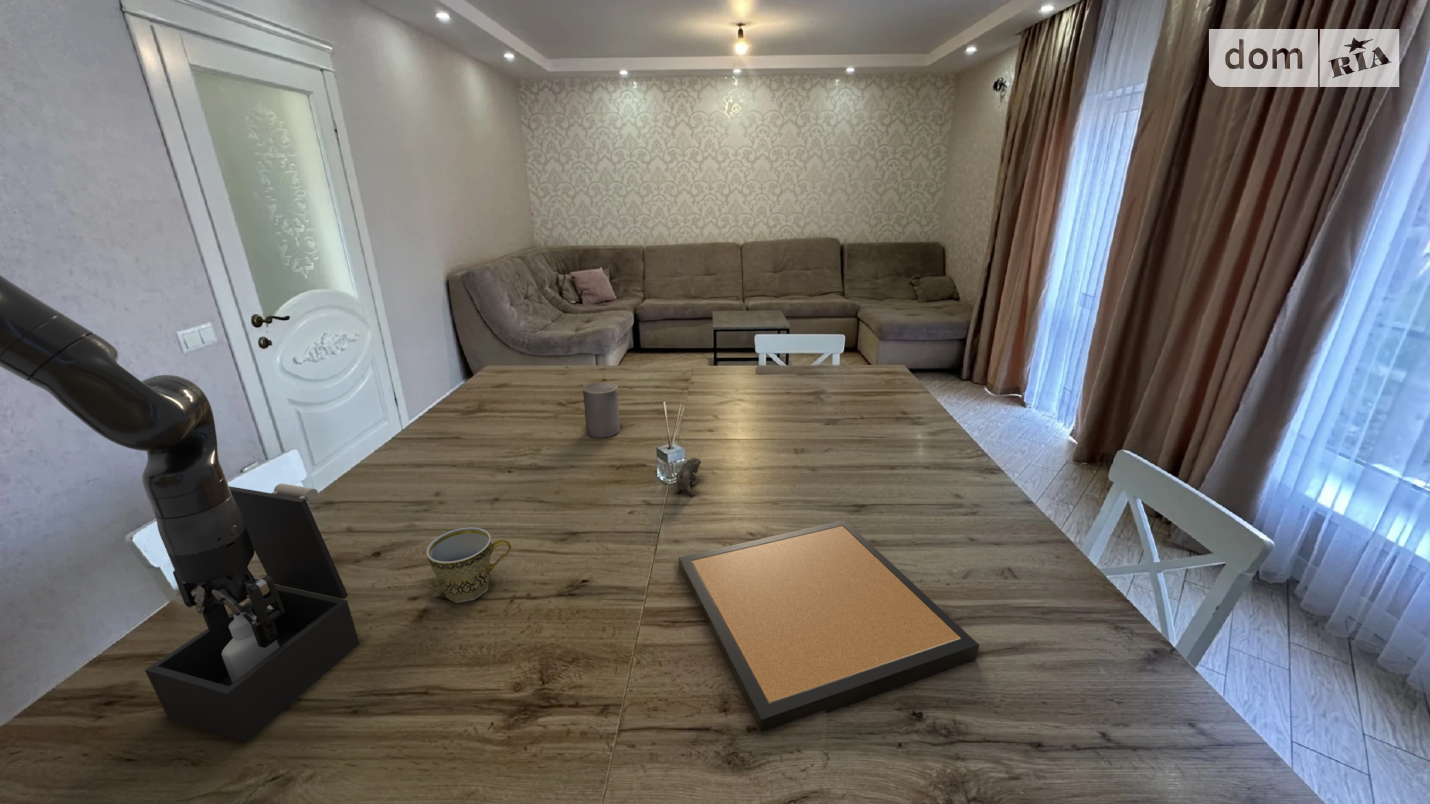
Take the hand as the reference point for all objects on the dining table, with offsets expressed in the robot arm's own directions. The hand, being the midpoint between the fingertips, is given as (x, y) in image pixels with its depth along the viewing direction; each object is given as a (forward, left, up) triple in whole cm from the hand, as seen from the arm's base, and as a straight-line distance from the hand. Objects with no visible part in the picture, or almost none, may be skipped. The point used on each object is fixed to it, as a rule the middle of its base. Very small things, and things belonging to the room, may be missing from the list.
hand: (245, 636), depth 74 cm
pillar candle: (+94, -7, -9) cm, 95 cm away
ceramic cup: (+25, -16, -9) cm, 31 cm away
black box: (+1, 0, -9) cm, 9 cm away
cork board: (+35, -73, -9) cm, 81 cm away
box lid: (+8, 0, +9) cm, 12 cm away
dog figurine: (+69, -41, -9) cm, 81 cm away
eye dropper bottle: (0, 0, -8) cm, 8 cm away
